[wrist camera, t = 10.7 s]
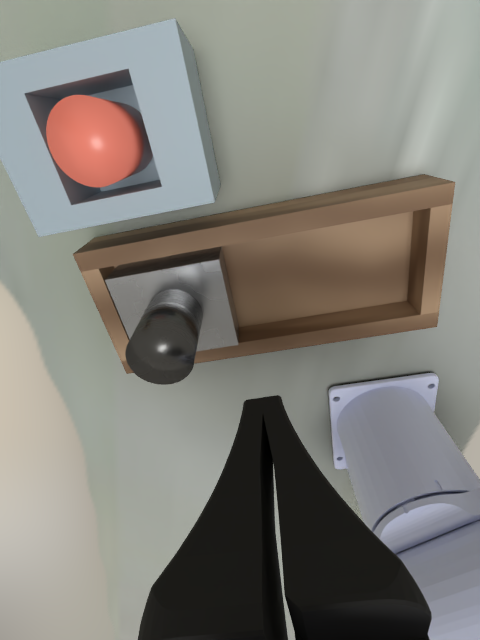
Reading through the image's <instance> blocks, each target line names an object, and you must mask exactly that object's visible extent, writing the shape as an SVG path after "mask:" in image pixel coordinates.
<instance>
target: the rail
mask: <svg viewBox="0 0 480 640" xmlns="http://www.w3.org/2000/svg"><path fill="white" fill-rule="evenodd" d="M454 187H455V182H453V181H449V180H445V179H441V178H437V177H433V176H429V175H425V174H424V175H418V176H413V177H408V178H403V179H398V180H392V181H387V182H382V183H377V184H371V185H366V186H361V187H356V188H351V189H345V190H340V191H335V192H330V193H325V194H319V195H314V196H309V197H304V198H299V199H293V200H288V201H283V202H278V203H273V204H267V205H262V206H257V207H252V208H247V209H241V210H236V211H231V212H226V213H221V214H215V215H210V216H205V217H200V218H195V219H189V220H184V221H179V222H174V223H169V224H163V225H158V226H153V227H148V228H143V229H137V230H132V231H127V232H122V233H116V234H111V235H106V236H101V237H96V238H94V239H92V240H91V241H90V242H88V243H87V244H86V245H84V246H83V247H82V248H80V249H79V250H78V251H76V252H75V253H74V254H73V256H74V258H75V260H76V262H77V265H78V267H79V269H80V271H81V273H82V276H83V278H84V280H85V282H86V284H87V287H88V289H89V291H90V293H91V296H92V298H93V300H94V302H95V304H96V307H97V309H98V311H99V313H100V315H101V318H102V320H103V322H104V324H105V327H106V329H107V331H108V333H109V335H110V338H111V340H112V342H113V344H114V347H115V349H116V351H117V353H118V355H119V358H120V360H121V362H122V364H123V366H124V369H125V371H126V373H127V374H128V373H134V372H133V371H132V370H131V368H130V367H129V365H128V363H127V361H126V356H125V351H126V347H127V344H128V342H129V340H130V339H129V337H128V334H127V332H126V329H125V327H124V325H123V322H122V320H121V318H120V315H119V313H118V310H117V308H116V306H115V303H114V301H113V298H112V296H111V294H110V291H109V289H108V286H107V284H106V282H105V279H106V278H107V277H108V276H109V275H110V274H111V273H112V271H113V270H114V269H115V268H116V267H117V266H118V265H122V264H127V263H133V262H138V261H144V260H149V259H155V258H160V257H166V256H171V255H176V254H182V253H187V252H193V251H198V250H204V249H209V248H215V247H220V246H222V250H223V255H224V259H225V264H226V268H227V273H228V278H229V282H230V287H231V291H232V296H233V301H234V305H235V310H236V314H237V319H238V323H239V332H238V345H235V346H228V347H222V348H215V349H209V350H202V351H196V355H195V360H194V363H201V362H207V361H214V360H221V359H227V358H234V357H240V356H247V355H254V354H260V353H267V352H274V351H280V350H287V349H293V348H300V347H307V346H313V345H320V344H326V343H333V342H340V341H346V340H353V339H360V338H366V337H373V336H379V335H386V334H393V333H399V332H406V331H412V330H419V329H426V328H432V327H437V323H438V315H439V307H440V299H441V291H442V283H443V275H444V267H445V259H446V251H447V243H448V235H449V227H450V219H451V211H452V203H453V195H454Z"/></svg>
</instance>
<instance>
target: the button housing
mask: <svg viewBox="0 0 480 640" xmlns="http://www.w3.org/2000/svg"><path fill="white" fill-rule="evenodd" d="M71 95H86V96H91V97H96V98H101V99H105V100H110V101H115V102H120V103H124V104H127V105H129V106H131V107H133V108H135V109H136V110H137V111H139V112H140V113H141V114H142V118H143V121H144V125H145V128H146V132H147V135H148V139H149V143H150V146H151V150H152V153H153V156H152V159H151V161H150V163H149V164H148V165H147V167H146V168H145V169H143V170H142V171H140V172H138V173H136V174H134V175H132V176H129V177H127V178H125V179H123V180H120V181H118V182H116V183H113V184H111V185H109V186H105V187H89V186H86V185H83V184H80V183H78V182H76V181H75V180H73V179H72V178H70V177H69V176H68V175H67V174H65V173H64V172H63V170H62V169H61V168H60V167H59V166H58V164H57V163H56V161H55V160H54V158H53V156H52V154H51V152H50V149H49V146H48V142H47V136H46V126H47V120H48V117H49V114H50V112H51V110H52V109H53V107H54V106H55V105H56V104H57V103H58V102H59V101H60V100H62V99H64V98H65V97H68V96H71ZM0 159H1V161H2V163H3V165H4V167H5V169H6V171H7V173H8V175H9V177H10V179H11V181H12V183H13V185H14V187H15V189H16V191H17V193H18V196H19V198H20V200H21V202H22V204H23V206H24V208H25V210H26V212H27V214H28V216H29V218H30V220H31V222H32V224H33V226H34V228H35V230H36V232H37V234H38V236H39V237H40V236H46V235H51V234H56V233H61V232H66V231H71V230H76V229H81V228H86V227H92V226H97V225H102V224H107V223H112V222H117V221H122V220H127V219H132V218H138V217H143V216H148V215H153V214H158V213H163V212H168V211H173V210H178V209H184V208H189V207H194V206H199V205H204V204H209V203H214V202H215V200H216V197H217V194H218V191H219V188H220V185H221V184H220V179H219V174H218V169H217V164H216V159H215V154H214V149H213V144H212V139H211V134H210V129H209V124H208V119H207V114H206V110H205V105H204V100H203V95H202V90H201V85H200V80H199V75H198V70H197V65H196V60H195V55H194V50H193V48H192V46H191V44H190V43H189V41H188V39H187V37H186V36H185V34H184V32H183V31H182V29H181V27H180V26H179V24H178V22H177V21H176V19H175V18H174V19H170V20H166V21H162V22H158V23H154V24H150V25H146V26H142V27H138V28H134V29H130V30H126V31H122V32H118V33H114V34H110V35H106V36H102V37H98V38H94V39H90V40H86V41H82V42H78V43H74V44H70V45H66V46H62V47H58V48H54V49H50V50H46V51H42V52H38V53H34V54H30V55H26V56H22V57H18V58H14V59H10V60H6V61H2V62H0Z"/></svg>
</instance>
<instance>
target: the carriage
mask: <svg viewBox="0 0 480 640" xmlns="http://www.w3.org/2000/svg"><path fill="white" fill-rule="evenodd" d="M105 282H106V284H107V286H108V289H109V291H110V294H111V296H112V298H113V301H114V303H115V306H116V308H117V310H118V313H119V315H120V318H121V320H122V322H123V325H124V327H125V329H126V332H127V334H128V337H129V339H130V340H129V342H128V344H127V347H126V351H125V356H126V361H127V363H128V365H129V367H130V368H131V370H132V371H133V372H134V373H135V374H136V375H137V376H139V377H140V378H142V379H144V380H146V381H148V382H151V383H155V384H173V383H176V382H179V381H181V380H183V379H184V378H185V377H187V376H188V375H189V373H190V372H191V370H192V368H193V365H194V360H195V355H196V351H202V350H209V349H215V348H222V347H228V346H235V345H238V332H239V323H238V319H237V314H236V310H235V305H234V301H233V296H232V291H231V287H230V282H229V278H228V273H227V268H226V264H225V259H224V255H223V250H222V246H220V247H215V248H209V249H204V250H198V251H193V252H187V253H182V254H176V255H171V256H166V257H160V258H155V259H149V260H144V261H138V262H133V263H127V264H122V265H118V266H117V267H116V268H115V269H114V270H113V271H112V273H111V274H110V275H109V276H108V277H107V278H106V279H105Z"/></svg>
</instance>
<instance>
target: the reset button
mask: <svg viewBox="0 0 480 640" xmlns="http://www.w3.org/2000/svg"><path fill="white" fill-rule="evenodd" d="M46 136H47V142H48V146H49V149H50V152H51V154H52V156H53V158H54V160H55V161H56V163H57V164H58V166H59V167H60V168H61V169H62V170H63V172H64V173H65V174H67V175H68V176H69V177H70V178H72V179H73V180H75V181H76V182H78V183H80V184H83V185H86V186H89V187H105V186H109V185H111V184H113V183H116V182H118V181H120V180H123V179H125V178H127V177H129V176H132V175H134V174H136V173H138V172H140V171H142V170H143V169H145V168H146V167H147V165H148V164H149V163H150V161H151V159H152V156H153V153H152V150H151V146H150V143H149V139H148V135H147V132H146V128H145V125H144V121H143V118H142V114H141V113H140V112H139V111H137V110H136V109H135V108H133V107H131V106H129V105H127V104H124V103H120V102H115V101H110V100H105V99H101V98H96V97H91V96H86V95H71V96H68V97H65V98H64V99H62V100H60V101H59V102H58V103H57V104H56V105H55V106H54V107H53V109H52V110H51V112H50V114H49V117H48V120H47V126H46Z"/></svg>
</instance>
